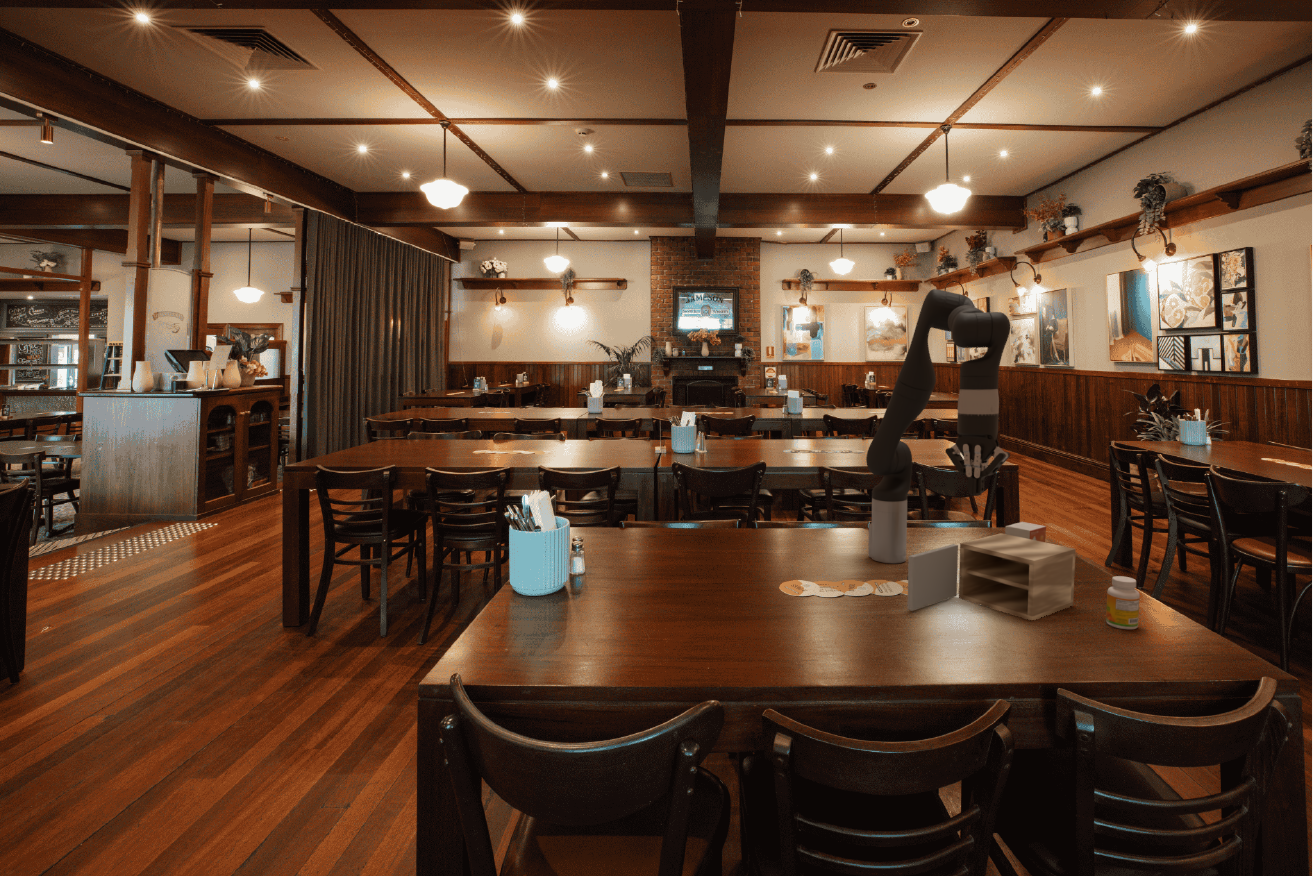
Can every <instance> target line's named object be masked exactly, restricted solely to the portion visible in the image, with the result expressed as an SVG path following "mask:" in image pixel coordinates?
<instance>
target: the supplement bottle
mask: <svg viewBox="0 0 1313 876" xmlns="http://www.w3.org/2000/svg"><path fill="white" fill-rule="evenodd" d="M1111 585H1112V586H1110V587H1108V589H1107V592H1106V614H1105V622H1106V623H1107V624H1108V625H1109V626H1110V627H1113V628H1116V629H1120V630H1135V629H1137V628H1138V627H1139V617H1140V616H1139V613H1140V596H1141V595H1140V592H1139V591H1138V590H1136V587H1137V580H1136V579H1134V578H1133V577H1128V576H1123V575H1122V576H1121V575H1118V576H1117V575H1116V576H1112V578H1111Z"/></svg>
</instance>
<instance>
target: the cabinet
mask: <svg viewBox="0 0 1313 876" xmlns="http://www.w3.org/2000/svg"><path fill="white" fill-rule="evenodd" d="M1076 551H1077V550H1076V548H1074V547H1068V546H1063V545H1058V544H1054V543H1049V542H1046V541H1045V542H1041V541H1036V540H1031V539H1026V538H1021V537H1017V536H1012V535H1007V534H1005V533H1001V532H1000V533H997V534H993V535H987V536H984V537H981V538H976V539H971V540H967V541H964V542H963V541H962V542H960V543H959V566H958V567H959V575H958V599H959V600H960V599H961V600H963V599H964V601H967V602H970V603H974V604H976V603H977V604H976V605H979V604H981V605H980V606H982V605H983V607H986V606H988V607H987V608H989V607H990V608H989V609H992V608H993V609H992V610H995V609H996V610H995V611H998V610H999V611H998V612H1001V611H1003V613H1005V612H1006V613H1005V614H1008V613H1010V614H1009V615H1011V614H1012V615H1011V616H1014V615H1016V616H1015V617H1017V616H1019V617H1018V618H1020V617H1022V618H1021V619H1024V620H1027V619H1028V620H1027V621H1030V620H1034V621H1036V619H1037V620H1039V619H1041V617H1042V618H1045V617H1047V616H1050V615H1052V613H1053V614H1055V612H1056V613H1058V612H1061V611H1064V610H1066V609H1068V608H1071V607H1070V606H1072V607H1074V590H1075V571H1076ZM1065 608H1066V609H1065ZM1063 609H1064V610H1063ZM1060 610H1061V611H1060ZM1057 611H1058V612H1057ZM1046 615H1047V616H1046ZM1044 616H1045V617H1044Z"/></svg>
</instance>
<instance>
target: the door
mask: <svg viewBox="0 0 1313 876" xmlns="http://www.w3.org/2000/svg"><path fill="white" fill-rule="evenodd" d="M958 563H959V545H958V544H954V543H953V544H949V545H945V546H941V547H938V548H934V549H930V550H927V551H922V552H919V553H916V554H912V555H908V567H907V569H908V571H907V573H908V574H907V576H906V580H907V611H912V612H913V611H915V610H919V609H923V608H925V607H928V606H930V605H933V604H936V603H939V602H942V601H946V600H949V599H951V598H954V597H957V596H958V595H957V594H958V567H959V566H958V565H959V564H958Z"/></svg>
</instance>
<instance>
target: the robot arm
mask: <svg viewBox="0 0 1313 876" xmlns="http://www.w3.org/2000/svg"><path fill="white" fill-rule="evenodd" d="M931 328H932V329H934V330H935V329H936V330H941V331H945V332H949V333H951V338H952V341H953V343H954V345H955V346H956V347H959V348H963V349H973V348H975V349H977V348H978V349H979V348H981V349H982V348H987V349H986V352H985V353H984V355H983V356H980V357H978V358H975V359H974V358H973V359H969V360H966V361H963V362H962V363H961V365H960V369H959V392H958V393H959V394H958V398H957V423H956V424H957V425H956V428H957V429H956V431H957V432H956V433H957V438H956V440H955V444H954V445H952V446H951V447H947V448H946V449H945V452H944V453H946V455H947V456H948V458H949V459H950V461H951V463H952V464H953V465H954V468H955V469H956V470H957V471H958V473H959V474H964V475H965V476H966V477H967V479H966V481H967V483H966V484H967V485H966V489H967V492H968V493H969V496H975V497H979V496H981V495H982V494H983V493H984V492H985V479H986V477H988V476H993V475H995V473H997V471H998V470H999V469H1001V467H1002V466H1003V465H1004V463H1005V462H1006V461H1008V459H1009V458H1010V456H1011V453H1010V452H1009V451H1004V450H1003V449H1002V448H1001V447H1000V442H999V440H998V434H999V411H1000V410H999V409H1000V408H999V406H1000V398H999V397H1000V396H999V369H1000V365H1001V360H1002V356H1003V353H1004V349H1005V347H1006V345H1007V342H1008V340H1009V336H1010V333H1011V323H1010V319H1009V318H1008V316H1007V314H1005V313H1004V312H1001V311H999V312H998V311H992V312H991V311H989V312H987V311H985V312H984V311H983V310H981V309H979V307H976V305H975V304H974V302H973V300H972V299H971V298H969V296H967V295H963V294H960V293H957V292H950V291H946V290H942V289H937V288H933V289H931V290H929V291H928V293H927V294H926V296H925V298H924V300H923V301H922V306H921V308H920V312H919V314H918V318H917V322H916V325H915V329H914V332H913V336H912V338H911V342H910V344H909V348H908V351H907V354H906V356H905V359H904V362H903V364H902V366H901V369H900V371H899V373H898V375H897V378H896V381H895V384H894V387H893V390H892V392H891V397H890V399H889V402H888V404H887V407H886V410H885V411H884V415H883V417H882V419H881V422H880V424H879V426H878V429H877V431H876V432H875V434H874V437H873V438H872V440H871V442H870V445H869V446H868V450H867V453H866V459H865V462H866V467H867V469H868V471H869V472H870V473H871V474H873V475H875V476H883V477H882V479H881V480H880V482H879V483H877V485H875V486H874V487H873V489H872V491H871V523H869V524H868V547H867V548H868V551H867V552H868V553H867V554H868V556H869V558H870V559H872V560H873V561H876V562H879V563H884V564H902V563H905V562H906V561H907V536H908V535H907V534H908V533H907V530H908V525H907V524H908V494H909V492H910V490H911V489H910V488H911V486H912V485H911V484H912V474H913V455H912V451H911V448H910V447H909V445H908V444H907V443H906V442H904V441H901V439H902V437H903V434H904V433H905V432H906V430H908V428H909V427H910V425H911V424H912V423H913V422H914V421H915V420H917V418H918V417H919V416H920V415H921V414H922V412H923V411H924V409H926V407H927V405H928V403H929V401H930V399H931V395H932V394H933V391H934V388H935V385H936V383H937V382H936V379H937V378H936V372H935V368H934V363H933V362H932V359H931V354H930V349H929V335H930V331H931ZM992 457H993V460H992V461H990V463H989V460H990V458H992Z"/></svg>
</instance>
